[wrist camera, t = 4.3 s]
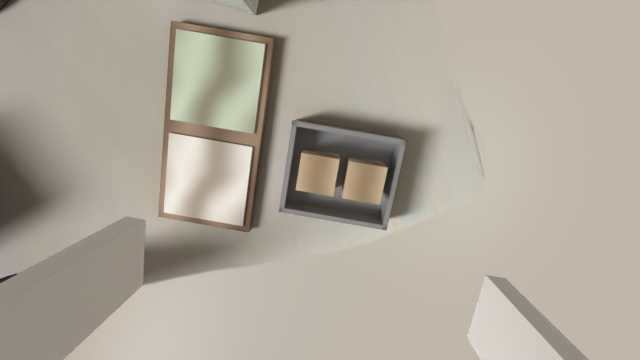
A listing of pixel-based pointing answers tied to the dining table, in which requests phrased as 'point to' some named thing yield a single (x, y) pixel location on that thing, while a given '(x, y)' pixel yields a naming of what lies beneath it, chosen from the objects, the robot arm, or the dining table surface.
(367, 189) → the oak block
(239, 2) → the supplement box
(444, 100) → the dining table surface
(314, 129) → the grey tray
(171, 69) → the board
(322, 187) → the oak block
